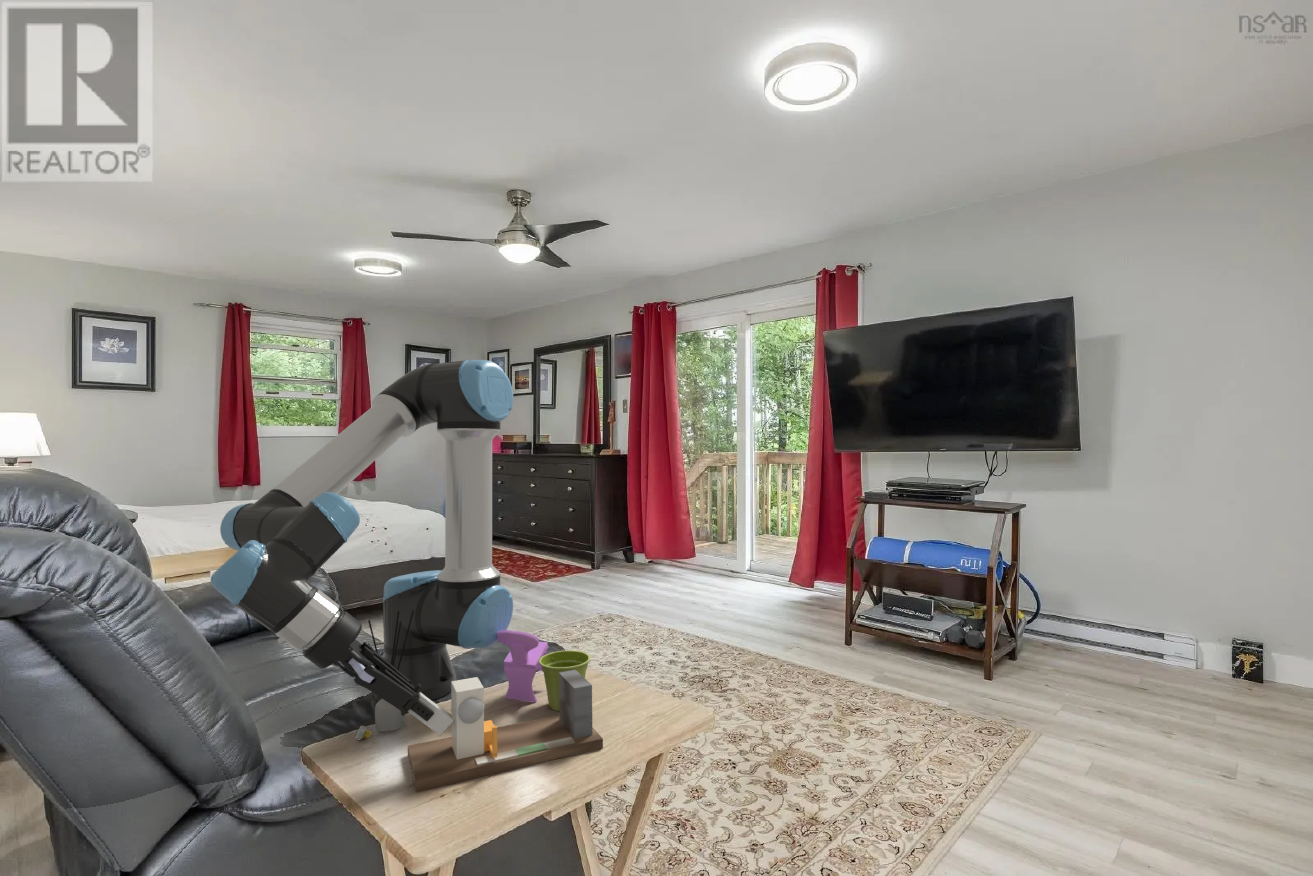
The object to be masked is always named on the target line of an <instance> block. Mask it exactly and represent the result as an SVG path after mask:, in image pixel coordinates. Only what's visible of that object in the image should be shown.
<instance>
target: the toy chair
mask: <svg viewBox="0 0 1313 876" xmlns="http://www.w3.org/2000/svg"><path fill="white" fill-rule="evenodd" d="M497 640H498V642H499V643H501V644H502V645H506V646H507V647H508V649H509V653H508V654H506V657H505V658H504V660H503V670H504V673H505V675H506V678H507V680H508V681H507V682H508V688H507V691H506V694H505V696H504V697H505V698H504V699H509V700H517V701H522V702H523V701H524V702H532V703H537V701H538V700H537V698H536V696H535V693H534V690H533V681H534V677H535V676H536V673H537V671H540V672H543V671H542V666H541V665H540V663H539V660H540V658H541V657H542V656H544V655H546V654H548V651H549V649H550V646H549V645H548V644H549V643H548V642H547V641H540V639H539V637H537V636H536V635H535V634H531V633H528V632H525V631H518V630H509V629H507V630H502V631H499V632H498V633H497Z"/></svg>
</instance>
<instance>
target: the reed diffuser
mask: <svg viewBox="0 0 1313 876" xmlns="http://www.w3.org/2000/svg"><path fill="white" fill-rule="evenodd" d="M413 613H414V611H412V614H411V618H410V622H409V626H408V630H407V633H406V637H405V641H404V645H403V649H402V653H401V656H400V660H399V664H398V668H397V670H399V667H400V663H401V659H402V655H403V651H404V647H405V643H406V640H407V636H408V632H409V628H410V624H411V620H412V617H413ZM398 618H399V611H398V613H397V621H396V629H395V636H394V644H393V651H392V659H391V665H392V666H394V662H395V657H396V651H397V645H398V639H399V633H400V628H401V621H400V624H399V630H398V635H397V641H396V633H397V626H398ZM367 621H368V625H369V630H370V635H371V638H372V642H373V645H374V650H375V651H376V652H377V653H378V654H379V651H378V648H377V644H376V639H375V636H374V632H373V628H372V624H371V620H370V619H368V620H367ZM395 641H396V647H395ZM394 649H395V653H394ZM393 656H394V659H393ZM405 715H406V714H405ZM405 715H404V716H403V715H401V711H400V710H399V709H397V708H396V707H394V706H393V705H391V704H390V703H388V702H387V701H385V700H384V699H381V700H380V701H377V702H376V704H375V706H374V721H375V729H376V730H377V731H379V732H391V731H395V730H396V731H397V730H399V729H400V728H402V727H403V726H404V725H405ZM366 728H367V727H366V726H365V725H360V726H359V728H358V730H357V733H356V735H357V736H355V740H357V739H361V740H362V738H363V737H364V738H365V737H366V738H365V739H369V738H370V737H371V734H372V731H371V730H369V729H368V730H367V729H366ZM356 737H357V738H356Z"/></svg>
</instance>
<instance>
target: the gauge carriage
mask: <svg viewBox="0 0 1313 876" xmlns="http://www.w3.org/2000/svg"><path fill="white" fill-rule="evenodd" d="M484 689H485V688H484V686H483V684H482V683H481V681H480V679H479V677H478V676H476V677H475V676H473V677H469V678H464V679H463V678H462V679H459V680H458V679H457V680H456V681H451V692H450V696H451V697H450V698H451V699H450V700H451V703H450V704H451V706H450V707H451V709H450V710H451V714H450V716H452V718H453V722H452V723H451V737H452V748H453V751H454V753H455V756H456V758H457V760H458V759H462V758H467V757H472V756H476V755H481V754H484V721H485V700H484V699H485V691H484Z"/></svg>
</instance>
